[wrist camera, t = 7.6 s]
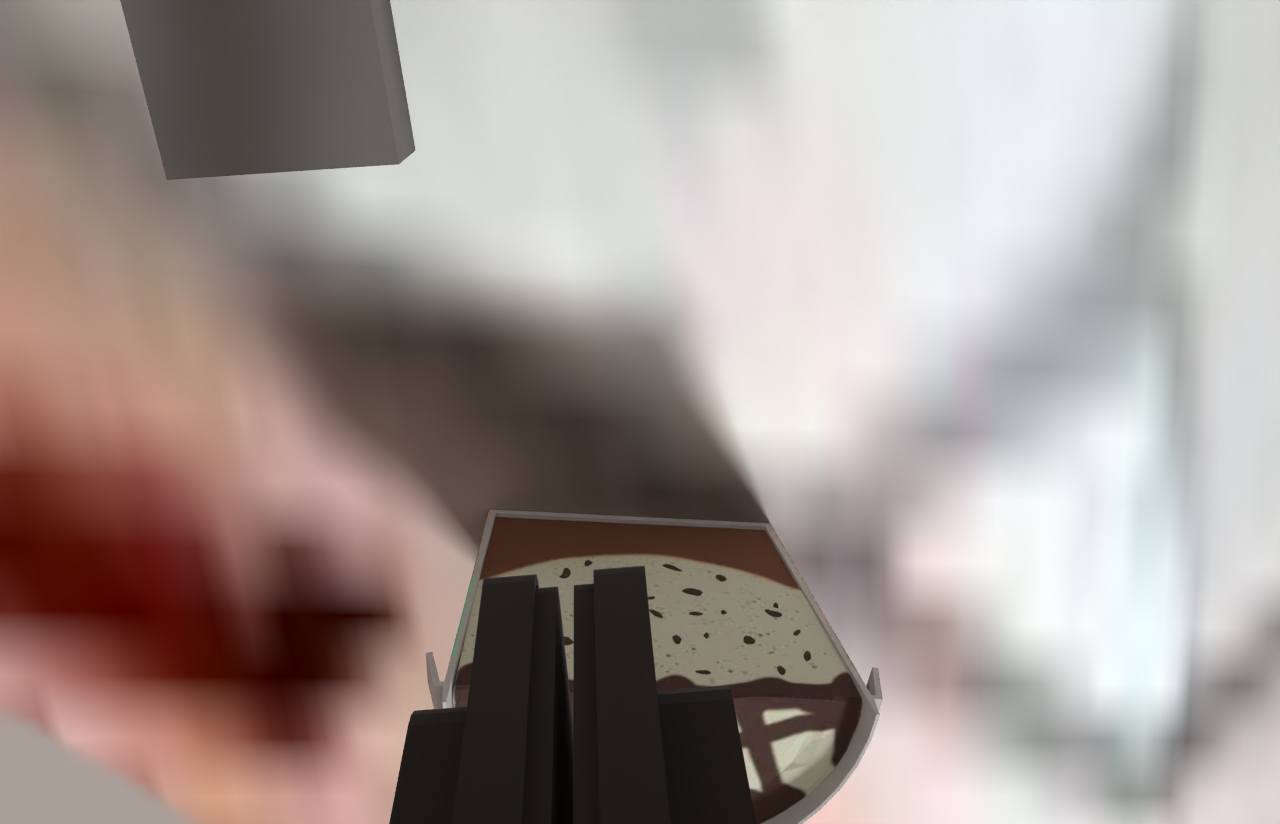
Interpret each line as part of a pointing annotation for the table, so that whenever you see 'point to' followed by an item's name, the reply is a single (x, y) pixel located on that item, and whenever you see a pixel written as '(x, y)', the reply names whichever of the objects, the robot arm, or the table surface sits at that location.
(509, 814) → the robot arm
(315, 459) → the table surface
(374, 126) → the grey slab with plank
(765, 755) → the food container
